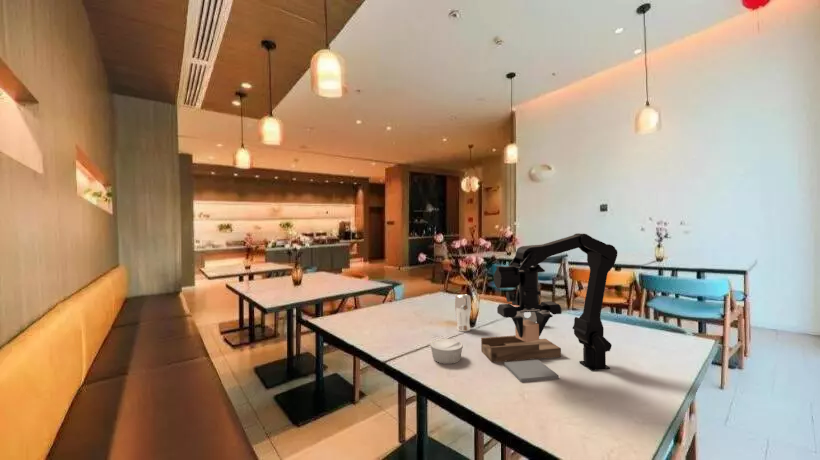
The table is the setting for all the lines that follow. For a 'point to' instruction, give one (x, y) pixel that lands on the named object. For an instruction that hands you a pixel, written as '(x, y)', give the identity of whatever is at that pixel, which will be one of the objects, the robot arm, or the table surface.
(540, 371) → the mat
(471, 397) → the table surface
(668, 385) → the table surface
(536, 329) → the block
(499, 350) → the divided wooden tray
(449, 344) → the ramekin
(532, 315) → the donut
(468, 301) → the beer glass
